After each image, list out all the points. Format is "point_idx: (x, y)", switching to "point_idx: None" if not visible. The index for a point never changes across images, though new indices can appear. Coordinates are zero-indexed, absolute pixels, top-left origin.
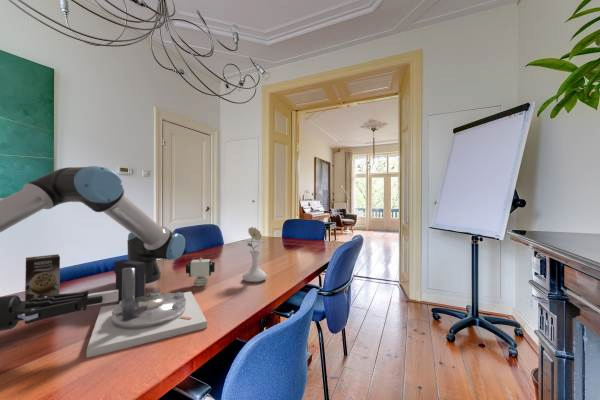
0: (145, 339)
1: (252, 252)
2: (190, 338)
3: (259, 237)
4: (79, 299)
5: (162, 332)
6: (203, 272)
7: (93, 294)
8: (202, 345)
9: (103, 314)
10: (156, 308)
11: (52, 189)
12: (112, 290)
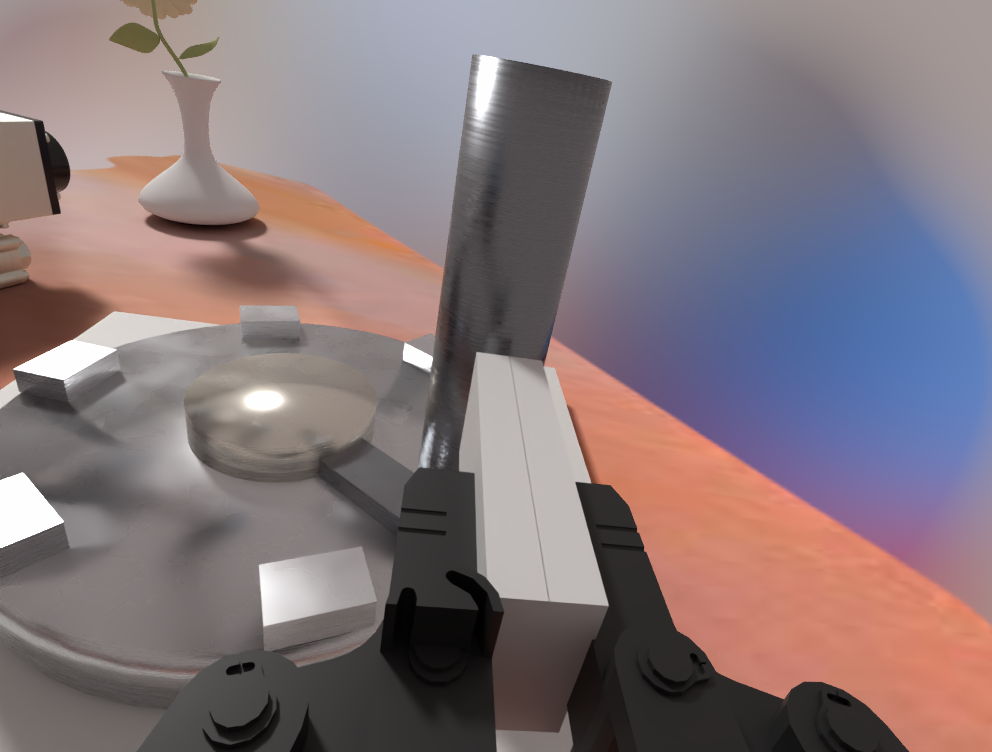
0: None
1: (201, 80)
2: (615, 442)
3: (184, 1)
4: (742, 744)
5: (589, 482)
6: (13, 196)
7: (562, 531)
8: (681, 431)
9: None
10: (385, 419)
11: None
12: (479, 382)
